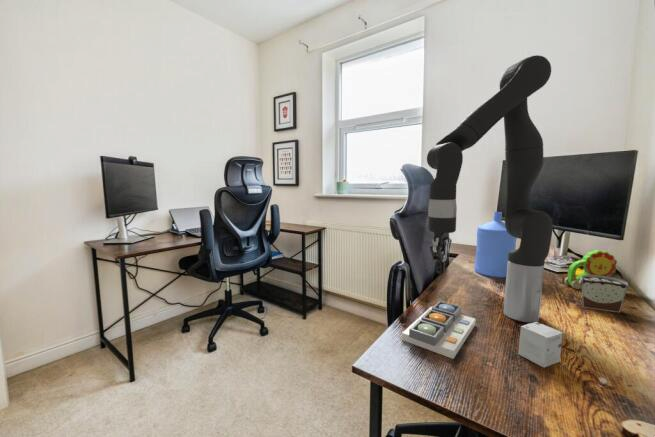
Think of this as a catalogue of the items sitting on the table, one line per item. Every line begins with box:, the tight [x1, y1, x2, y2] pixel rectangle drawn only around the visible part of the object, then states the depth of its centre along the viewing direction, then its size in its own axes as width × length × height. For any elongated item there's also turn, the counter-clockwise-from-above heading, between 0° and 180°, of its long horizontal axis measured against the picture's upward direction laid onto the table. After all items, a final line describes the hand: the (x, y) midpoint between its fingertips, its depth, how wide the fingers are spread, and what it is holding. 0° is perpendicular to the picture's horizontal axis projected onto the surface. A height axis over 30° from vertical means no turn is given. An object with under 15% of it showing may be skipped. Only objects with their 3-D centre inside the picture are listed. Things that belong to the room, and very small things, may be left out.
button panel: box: [401, 300, 476, 360], centre depth 80 cm, size 13×23×4 cm, turn 140°
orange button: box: [429, 313, 446, 323], centre depth 81 cm, size 4×4×2 cm
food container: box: [579, 275, 630, 313], centre depth 97 cm, size 12×6×10 cm, turn 65°
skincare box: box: [517, 321, 564, 369], centre depth 69 cm, size 6×6×7 cm
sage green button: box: [418, 324, 436, 336], centre depth 75 cm, size 4×4×2 cm
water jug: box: [474, 211, 518, 279], centre depth 131 cm, size 16×16×28 cm
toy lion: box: [564, 249, 618, 290], centre depth 113 cm, size 16×6×15 cm, turn 84°
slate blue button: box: [439, 304, 455, 313], centre depth 87 cm, size 4×4×2 cm
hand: (440, 273), depth 86 cm, fingers closed
